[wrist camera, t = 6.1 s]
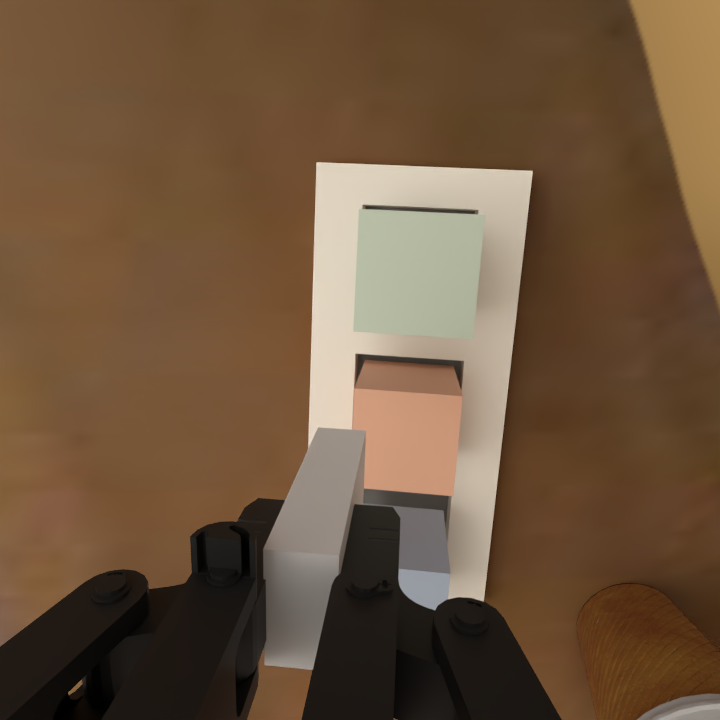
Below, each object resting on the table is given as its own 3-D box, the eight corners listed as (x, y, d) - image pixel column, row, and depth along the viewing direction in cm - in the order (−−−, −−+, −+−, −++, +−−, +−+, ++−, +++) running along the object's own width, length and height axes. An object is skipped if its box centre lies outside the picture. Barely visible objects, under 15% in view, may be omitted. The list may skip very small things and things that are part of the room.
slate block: (355, 502, 32) (342, 563, 26) (443, 510, 31) (450, 573, 25) (351, 579, 33) (338, 654, 27) (436, 588, 32) (441, 666, 26)
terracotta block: (365, 359, 32) (354, 388, 26) (453, 365, 31) (462, 396, 25) (361, 442, 33) (349, 487, 27) (446, 448, 32) (453, 496, 26)
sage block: (370, 214, 28) (359, 208, 22) (469, 218, 28) (485, 214, 22) (365, 312, 29) (353, 331, 23) (460, 317, 29) (472, 339, 23)
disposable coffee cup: (529, 664, 36) (585, 867, 25) (582, 540, 34) (671, 700, 22) (670, 707, 36) (793, 933, 24) (733, 586, 34) (901, 771, 22)
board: (322, 166, 31) (316, 162, 29) (524, 175, 30) (532, 170, 28) (309, 580, 36) (303, 600, 34) (478, 597, 36) (481, 618, 34)
